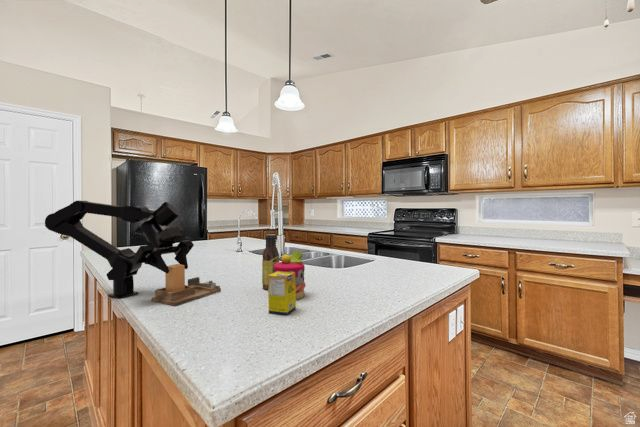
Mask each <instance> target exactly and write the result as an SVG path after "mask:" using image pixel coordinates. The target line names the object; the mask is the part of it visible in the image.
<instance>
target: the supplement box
mask: <svg viewBox="0 0 640 427" xmlns="http://www.w3.org/2000/svg"><path fill="white" fill-rule="evenodd" d="M267 291H268V292H267V293H268V294H267V295H268V314H274V315H275V314H276V315H283V316H289V315H290V314H291V313H292V312H294V311H295V310H296V306H297V305H296V303H297V302H296V301H297V300H296V292H295V272H281V271H277V272H275V273H272V274H270V275H268V289H267Z"/></svg>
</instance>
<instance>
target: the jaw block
mask: <svg viewBox="0 0 640 427" xmlns="http://www.w3.org/2000/svg"><path fill="white" fill-rule="evenodd" d="M167 267H168V269H169V273H165V272H164V273H165V287H166V291H167V292H177V291H180V290H184V289H185V285H186V283H185V282H186V281H185V280H186V276H185V275H186V274H185V272H186V269H185V265H181V264H179V263H175V264H171V265H167Z"/></svg>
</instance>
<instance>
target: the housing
mask: <svg viewBox="0 0 640 427" xmlns="http://www.w3.org/2000/svg"><path fill="white" fill-rule="evenodd" d="M200 280H201V279H200V277H199V276H197V277H191V278H189V279H187V285H186V284H185V289H184V290H180V291H177V292H167V291H166V286H165V287H162V288H158V289H154V296H153V297H151V298H150V300H151V302H152V303H156V304H162V305H168V306H171V307H179V306H180V305H183V304H186V303H189V302H193V301H195V300H199V299H202V298H205V297H208V296H211V295H214V294H216V293H219V292H222V288H221V286H220V285H217V284H216V289H213V290H212V288H207V287H202V283H203V282H201V281H200Z"/></svg>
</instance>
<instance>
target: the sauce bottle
mask: <svg viewBox="0 0 640 427" xmlns="http://www.w3.org/2000/svg"><path fill="white" fill-rule="evenodd" d="M278 251H279V250H278V248H277V234H274V233H273V234H265V248H264V250H263V252H262V260H261V262H262V264H261V267H262V268H261V270H262V271H261V272H262V274H261V276H262V278H261V283H262V289H263V290H268V275H270V274H272V273H274V265H275V264H276V263H279V262H280V253H279V252H278Z"/></svg>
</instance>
